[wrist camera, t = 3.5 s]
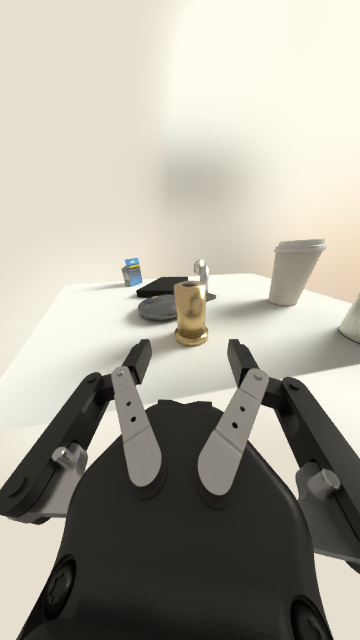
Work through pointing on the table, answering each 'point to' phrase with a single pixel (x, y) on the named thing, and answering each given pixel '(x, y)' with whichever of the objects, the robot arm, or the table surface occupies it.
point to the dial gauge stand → (203, 276)
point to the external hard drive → (160, 287)
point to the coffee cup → (293, 269)
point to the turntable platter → (158, 307)
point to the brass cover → (190, 313)
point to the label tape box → (132, 272)
